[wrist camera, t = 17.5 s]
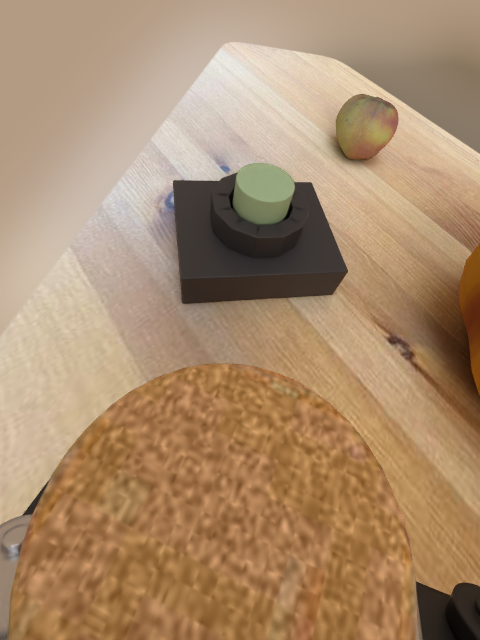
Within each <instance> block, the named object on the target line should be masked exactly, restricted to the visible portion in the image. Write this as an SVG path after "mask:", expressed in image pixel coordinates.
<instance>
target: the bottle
mask: <svg viewBox="0 0 480 640" xmlns="http://www.w3.org/2000/svg"><path fill="white" fill-rule="evenodd" d="M416 623H417V599H416V578H415V572H414V566H413V560H412V554H411V548H410V542H409V538H408V535H407V531H406V528H405V525H404V522H403V519H402V516H401V513H400V510H399V506H398V503H397V500H396V498H395V496H394V494H393V491H392V489H391V487H390V485H389V483H388V480H387V478H386V476H385V474H384V472H383V470H382V467H381V466H380V464H379V463H378V461H377V459H376V458H375V456H374V455H373V453H372V452H371V450H370V448H369V447H368V445H367V444H366V442H365V441H364V439H363V438H362V437H361V435H360V434H359V433H358V432H357V431H356V430H355V428H354V427H353V426H352V425H351V424H350V422H349V421H348V420H347V419H346V418H345V417H343V416H342V415H341V414H340V413H339V412H338V411H337V410H336V409H335V408H334V407H333V406H332V405H331V404H330V403H329V402H327V401H326V400H325V399H323V398H322V397H320V396H319V395H317V394H316V393H315V392H313V391H312V390H310V389H309V388H307V387H306V386H304V385H302V384H300V383H299V382H297V381H295V380H293V379H290V378H288V377H286V376H283V375H281V374H278V373H275V372H272V371H269V370H265V369H262V368H259V367H253V366H247V365H241V364H205V365H199V366H194V367H188V368H183V369H180V370H177V371H174V372H172V373H169V374H166V375H163V376H160V377H157V378H155V379H153V380H151V381H149V382H147V383H146V384H144V385H142V386H140V387H138V388H136V389H134V390H132V391H131V392H129V393H128V394H126V395H125V396H124V397H122V398H121V399H119V400H118V401H117V402H115V403H114V404H113V405H111V406H110V407H109V408H108V409H107V410H106V411H105V412H104V413H103V414H102V415H100V416H99V417H98V418H97V419H96V420H95V421H94V422H93V423H92V424H91V425H90V426H89V427H88V428H87V429H86V430H85V431H84V432H83V433H82V434H81V436H80V437H79V438H78V439H77V441H76V442H75V443H74V444H73V446H72V447H71V448H70V449H69V450H68V452H67V453H66V455H65V456H64V458H63V459H62V461H61V462H60V464H59V465H58V466H57V468H56V469H55V471H54V472H53V474H52V476H51V478H50V480H49V482H48V484H47V486H46V488H45V490H44V492H43V494H42V496H41V498H40V500H39V502H38V504H37V506H36V508H35V511H34V513H33V515H32V517H31V520H30V523H29V526H28V529H27V531H26V534H25V537H24V540H23V543H22V547H21V551H20V555H19V560H18V564H17V568H16V573H15V577H14V581H13V586H12V590H11V596H10V610H9V625H8V640H416Z"/></svg>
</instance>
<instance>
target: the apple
mask: <svg viewBox="0 0 480 640" xmlns="http://www.w3.org/2000/svg"><path fill="white" fill-rule="evenodd" d="M397 125H398V112H397V110H396V108H395V107H394V106H393V105H392V104H391V103H389V102H387V101H385V100H383V99H381V98H379V97H373V96H369V95H365V94H359V95H355V96H353V97H352V98H350V99H349V100H348V101H347V102H346V103H345V104H344V105H343V107H342V108H341V110H340V111H339V113H338V116H337V119H336V134H337V140H338V143H339V145H340V147H341V149H342V151H343V152H344V154H345V155H346V157H347V158H349V159H357V160H361V159H370V158H372V157H374V156H375V155H376V154H377V153H378V152H379V151H380V150H381V149H382V148H383V147H385V146H386V145H387V144H388V143H389V141H390V140H391V139H392V137H393V135H394V134H395V131H396V129H397Z"/></svg>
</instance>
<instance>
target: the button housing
mask: <svg viewBox="0 0 480 640" xmlns="http://www.w3.org/2000/svg"><path fill="white" fill-rule="evenodd" d="M237 173H238V172H237ZM237 173H235V174H232V175H230V176H227V177H224V178H222V179H221V180H220V181H184V180H174V181H173V190H174V207H175V220H176V232H177V245H178V257H179V270H180V282H181V295H182V303H198V302H215V301H231V300H248V299H265V298H282V297H299V296H316V295H332V294H333V293H334V291H335V290H336V288H337V287H338V286H339V284H340V283H341V281H342V280H343V278H344V277H345V275H346V274H347V272H348V270H347V268H346V265H345V263H344V260H343V258H342V256H341V253H340V251H339V248H338V246H337V243H336V241H335V238H334V236H333V234H332V231H331V229H330V226H329V224H328V221H327V219H326V217H325V214H324V212H323V209H322V207H321V204H320V202H319V199H318V197H317V195H316V192H315V190H314V187H313V185H312V183H310V182H294V184H295V190H294V193H293V196H292V199H291V202H290V205H289V209H288V212H287V215H286V216H285V218H284V219H283V220H282V221H281V222H279V223H277V224H274V225H257V224H255V223H252V222H249V221H247V220H244V219H242V218H241V217H240V216H239V215H238V214H237V213H236V211H235V210H234V207H233V196H234V189H235V181H236V175H237Z"/></svg>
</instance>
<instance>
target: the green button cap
mask: <svg viewBox="0 0 480 640" xmlns="http://www.w3.org/2000/svg"><path fill="white" fill-rule="evenodd" d="M294 190H295V184H294V181H293V179H292V178H291V176H290V175H289V174H288V173H287V172H285V171H284V170H282V169H281V168H279V167H276V166H274V165H270V164H265V163H253V164H249V165H246V166H244V167H243V168H241V169H240V170H239V171H238V173H237V175H236V181H235V189H234V196H233V207H234V210H235V211H236V213H237V214H238V215H239V216H240V217H241V218H242V219H244V220H247V221H249V222H252V223H255V224H257V225H274V224H277V223H279V222H281V221H282V220H283V219H284V218H285V216H286V215H287V212H288V209H289V205H290V202H291V199H292V196H293V193H294Z"/></svg>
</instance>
